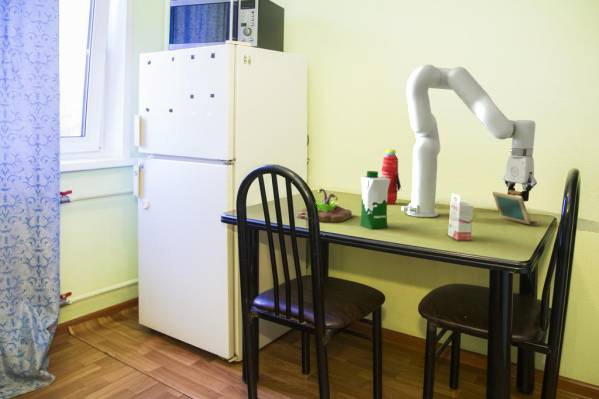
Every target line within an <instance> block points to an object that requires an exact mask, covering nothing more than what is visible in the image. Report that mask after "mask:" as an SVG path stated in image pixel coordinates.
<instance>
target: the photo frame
mask: <svg viewBox="0 0 599 399" xmlns="http://www.w3.org/2000/svg"><path fill="white" fill-rule="evenodd" d="M507 193H508V194H507ZM507 193H502V192H498V191H492V196H493V198H494V202H495V204H496V208H497V210H498V214H499V216H500V218H501V219H502V218H506V219H510V220H514V221H518V222H522V223H527V224H530V220H529V219H530V218H529V214H528V211H527V207H526V204H525V202H524V201H523V198H522V197H521V194H522V191H518V190H515V191H513V190H508V189H507ZM509 194H510V195H509ZM506 219H505V220H506ZM510 220H509V221H510ZM514 221H513V222H514ZM518 222H517V223H518ZM522 223H521V224H522Z"/></svg>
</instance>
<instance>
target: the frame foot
mask: <svg viewBox="0 0 599 399" xmlns="http://www.w3.org/2000/svg"><path fill="white" fill-rule="evenodd" d="M501 219H503V220H507V221H509V222H510V221H511V222H515V223H519V224H522V225H527V226H531V227H537V226H538V221H539V220H535V219H531V218H529V220H530V224H527V223H522V222H518V221H514V220H510V219H506V218H502V217H501Z"/></svg>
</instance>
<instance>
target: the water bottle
mask: <svg viewBox="0 0 599 399" xmlns="http://www.w3.org/2000/svg"><path fill="white" fill-rule="evenodd" d="M399 175H400V173H399V158H398V157H397V155H396V149H392V148H388V149H386V150H385V154H384V156H383V157H382V160H381V177H385V178H388V179H390V183H389V187H388V196H387V205H394V204H396V203H397V200H398V192H399V191H400V190H401V189H402V185H401V181H400V177H399Z"/></svg>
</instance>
